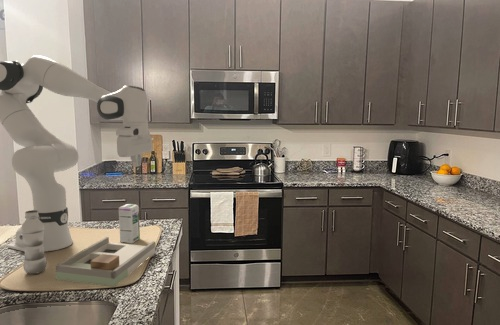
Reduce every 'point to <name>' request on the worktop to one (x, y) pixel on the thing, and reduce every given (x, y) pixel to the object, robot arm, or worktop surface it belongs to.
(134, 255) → the box
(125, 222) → the syrup box
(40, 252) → the plastic bottle
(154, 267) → the worktop surface
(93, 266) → the walnut block
